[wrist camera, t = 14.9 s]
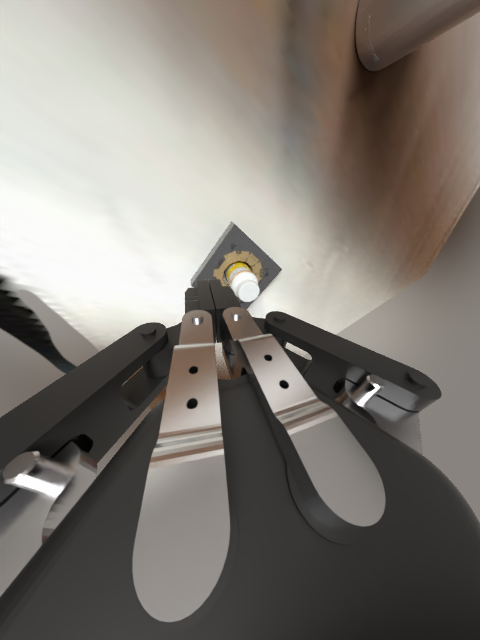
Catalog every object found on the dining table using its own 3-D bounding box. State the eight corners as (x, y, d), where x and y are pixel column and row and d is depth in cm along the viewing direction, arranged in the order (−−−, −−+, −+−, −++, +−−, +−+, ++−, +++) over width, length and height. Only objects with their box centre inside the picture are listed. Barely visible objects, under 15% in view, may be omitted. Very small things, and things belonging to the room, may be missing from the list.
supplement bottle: (224, 260, 36) (234, 279, 28) (248, 258, 37) (264, 276, 29) (225, 284, 39) (234, 306, 32) (247, 282, 40) (261, 303, 33)
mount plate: (231, 221, 32) (234, 223, 30) (277, 265, 39) (282, 269, 37) (190, 280, 36) (191, 285, 34) (239, 308, 44) (241, 314, 42)
